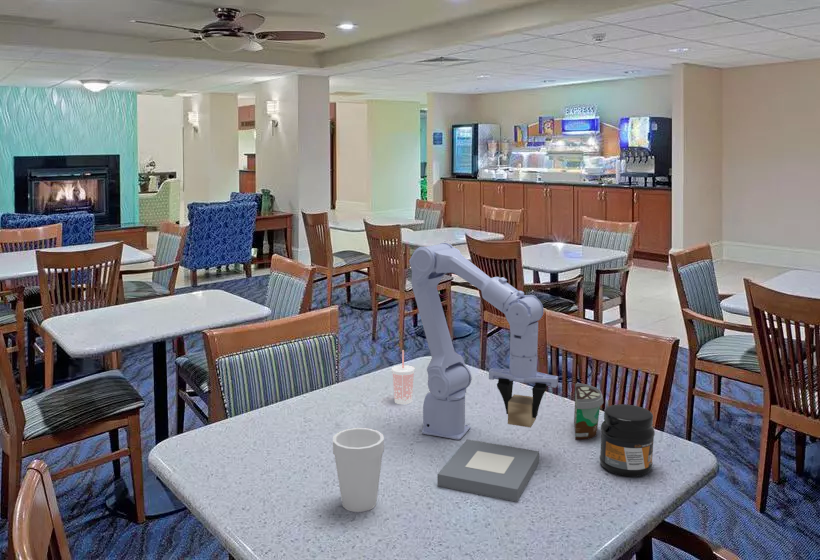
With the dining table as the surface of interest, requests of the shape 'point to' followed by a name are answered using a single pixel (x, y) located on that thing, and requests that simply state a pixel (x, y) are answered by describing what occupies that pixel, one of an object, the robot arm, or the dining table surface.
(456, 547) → the dining table surface
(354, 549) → the dining table surface
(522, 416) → the oak cube
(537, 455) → the plinth
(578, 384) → the food container
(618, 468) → the supplement container
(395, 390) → the beverage cup
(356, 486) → the foam cup
